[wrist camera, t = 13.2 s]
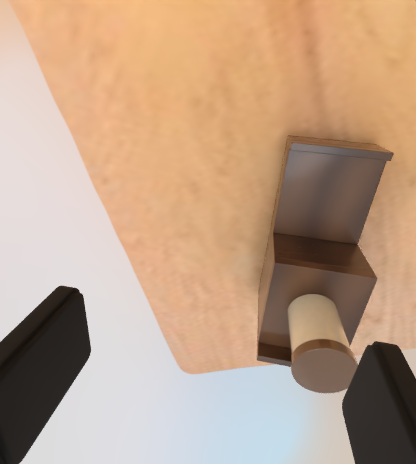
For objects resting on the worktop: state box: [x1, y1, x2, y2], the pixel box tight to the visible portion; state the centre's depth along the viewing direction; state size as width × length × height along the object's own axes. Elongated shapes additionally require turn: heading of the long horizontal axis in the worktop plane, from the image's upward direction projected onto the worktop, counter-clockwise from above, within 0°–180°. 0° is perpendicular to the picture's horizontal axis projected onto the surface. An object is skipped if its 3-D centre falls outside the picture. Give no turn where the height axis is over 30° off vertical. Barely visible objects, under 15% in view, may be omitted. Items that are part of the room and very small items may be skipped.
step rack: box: [257, 136, 393, 367], centre depth 34 cm, size 10×23×13 cm, turn 175°
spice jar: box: [287, 294, 358, 393], centre depth 29 cm, size 6×6×8 cm
